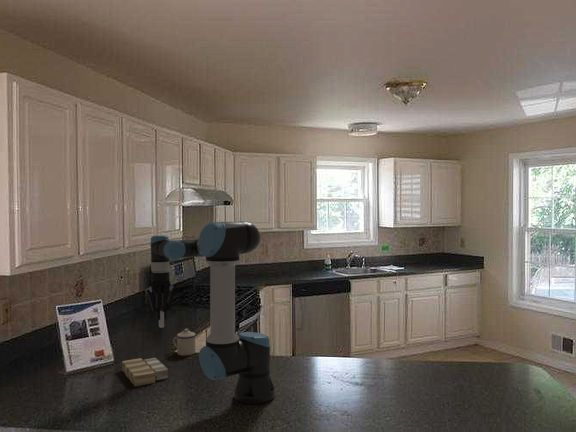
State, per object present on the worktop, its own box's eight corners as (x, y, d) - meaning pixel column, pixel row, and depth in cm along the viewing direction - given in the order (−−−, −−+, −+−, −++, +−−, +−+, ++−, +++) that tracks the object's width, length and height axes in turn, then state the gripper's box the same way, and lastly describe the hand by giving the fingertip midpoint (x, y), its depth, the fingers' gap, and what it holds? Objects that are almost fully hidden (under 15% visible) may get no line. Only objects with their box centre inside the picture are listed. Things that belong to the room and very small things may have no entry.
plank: (144, 368, 203) (144, 359, 203) (155, 366, 206) (155, 357, 206) (155, 381, 188) (155, 371, 188) (168, 378, 191) (167, 369, 190)
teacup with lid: (199, 351, 227) (199, 327, 227) (188, 356, 218) (188, 332, 218) (179, 348, 231) (179, 325, 231) (167, 354, 223) (167, 329, 223)
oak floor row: (157, 382, 186) (157, 372, 186) (134, 386, 181) (134, 376, 181) (142, 366, 205) (142, 357, 205) (122, 370, 200) (122, 361, 200)
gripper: (172, 269, 204) (173, 323, 204) (142, 272, 197) (143, 327, 197) (178, 271, 198) (179, 326, 198) (147, 273, 191) (148, 330, 191)
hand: (161, 326), depth 197 cm, fingers closed
